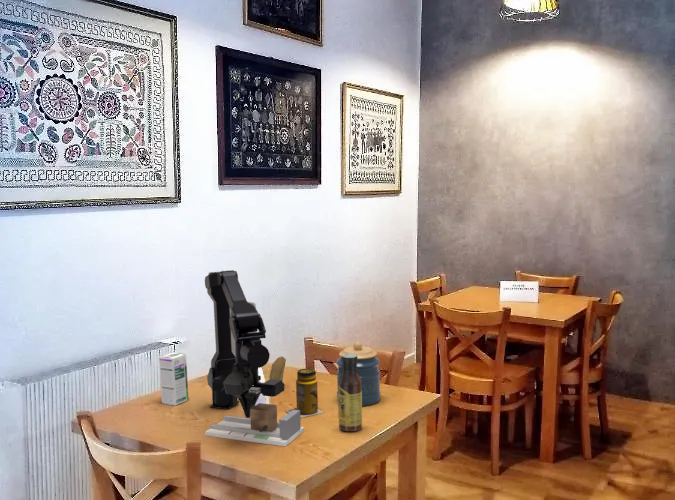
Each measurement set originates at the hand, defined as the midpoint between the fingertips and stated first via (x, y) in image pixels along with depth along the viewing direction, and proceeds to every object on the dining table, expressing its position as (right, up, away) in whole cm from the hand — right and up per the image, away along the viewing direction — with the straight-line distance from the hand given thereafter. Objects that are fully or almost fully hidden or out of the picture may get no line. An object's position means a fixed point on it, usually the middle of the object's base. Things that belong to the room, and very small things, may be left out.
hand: (248, 417), depth 172 cm
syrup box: (-26, -2, +27) cm, 37 cm away
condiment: (+14, -3, +15) cm, 21 cm away
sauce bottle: (+27, -4, +2) cm, 27 cm away
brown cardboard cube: (+4, -3, -3) cm, 6 cm away
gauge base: (+2, -4, 0) cm, 4 cm away
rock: (+3, -1, +38) cm, 38 cm away
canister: (+30, -1, +25) cm, 39 cm away
